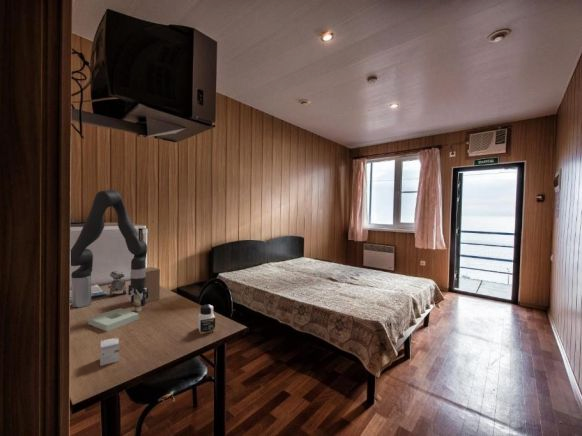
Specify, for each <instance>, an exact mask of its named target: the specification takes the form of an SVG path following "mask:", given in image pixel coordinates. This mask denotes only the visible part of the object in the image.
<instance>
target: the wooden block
mask: <svg viewBox="0 0 582 436" xmlns="http://www.w3.org/2000/svg"><path fill="white" fill-rule="evenodd" d="M145 270H146V283H145V284H144V288H148V298H146V299H145V304H149V303H151V302H155V301H159V300H160V294H161V293H160V289H161V286H160V284H161V283H160V281H161V280H160V279H161V271H160V270H161V269H160V268H156V267H155V266H154V267H153V266H149V267H145ZM142 294H143V292H142ZM145 296H146V295H145ZM142 297H143V296H142Z"/></svg>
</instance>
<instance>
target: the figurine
mask: <svg viewBox="0 0 582 436" xmlns="http://www.w3.org/2000/svg"><path fill="white" fill-rule="evenodd" d="M109 277H111V278H112V279H113V280H112V281H111V284H110V285H109V284H107V286H108V289H109V296H110V297H113V296H114V294H113V293H114V292H120V291H121V292H122V293H123V295H127V287H126V285H127V284H126V279H122V278H124V277H125V275H124V274H123V271H121V272H120V271H117V270H114V271H112V272H110V273H109Z"/></svg>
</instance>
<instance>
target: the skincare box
mask: <svg viewBox="0 0 582 436" xmlns="http://www.w3.org/2000/svg"><path fill="white" fill-rule="evenodd" d="M119 342H120V341H119V336H117V337H114V338H113V337H112V338H108V339H104V340H100V343H99V348H100V349H99V362H100V363H99V365H100V366H102V367H103V366H105V365H110V364H114V363H117V362H119V361H120V358H119V357H120V343H119Z"/></svg>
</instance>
